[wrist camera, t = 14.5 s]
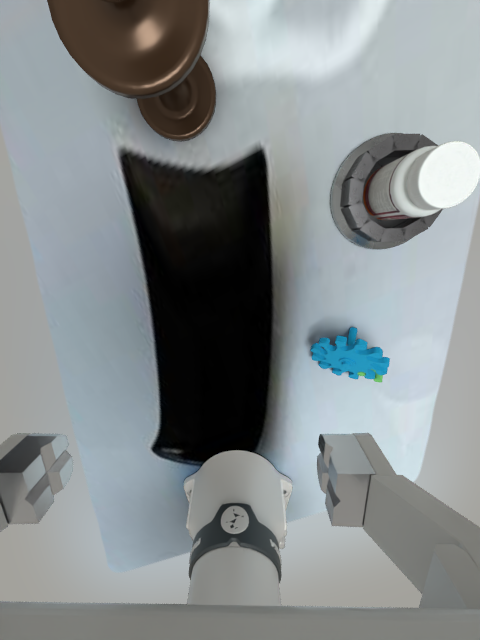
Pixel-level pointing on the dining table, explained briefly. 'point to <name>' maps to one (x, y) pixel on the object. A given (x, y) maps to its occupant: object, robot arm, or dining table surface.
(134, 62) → the candlestick
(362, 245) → the notched hollow ring
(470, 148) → the pill bottle
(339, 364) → the gear
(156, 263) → the dining table surface
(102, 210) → the dining table surface
